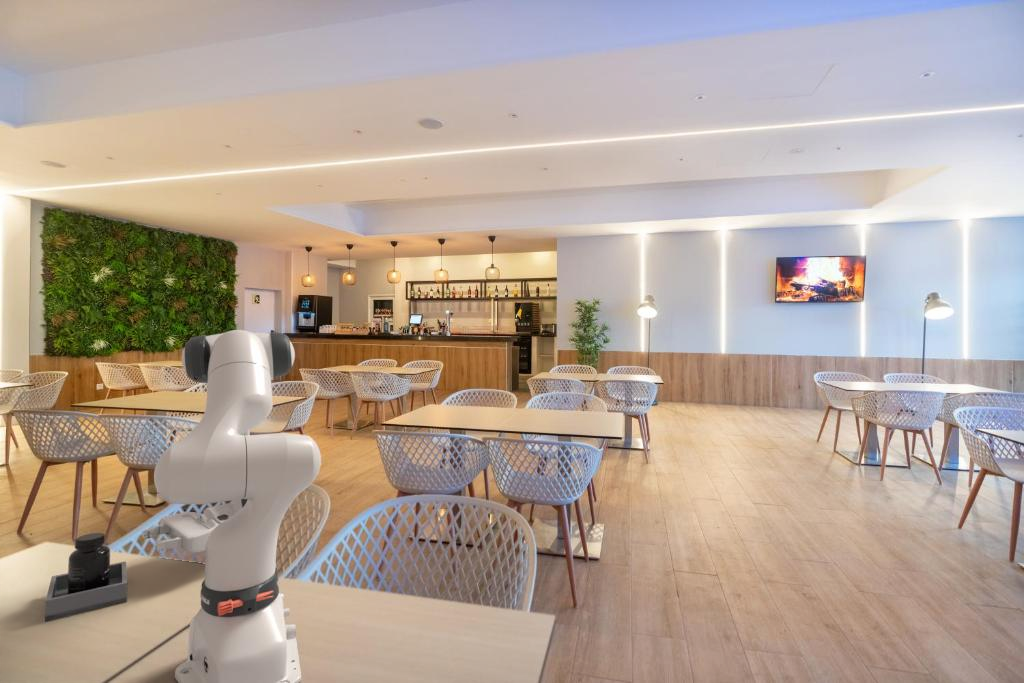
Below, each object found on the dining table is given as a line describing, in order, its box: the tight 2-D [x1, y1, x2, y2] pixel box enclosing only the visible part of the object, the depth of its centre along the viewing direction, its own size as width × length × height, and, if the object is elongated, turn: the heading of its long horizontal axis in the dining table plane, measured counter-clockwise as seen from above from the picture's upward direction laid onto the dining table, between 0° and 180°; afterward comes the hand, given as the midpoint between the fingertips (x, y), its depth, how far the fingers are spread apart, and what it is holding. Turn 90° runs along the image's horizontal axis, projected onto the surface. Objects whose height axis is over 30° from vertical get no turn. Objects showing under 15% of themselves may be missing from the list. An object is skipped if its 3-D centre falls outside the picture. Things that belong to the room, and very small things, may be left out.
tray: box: [44, 560, 128, 623], centre depth 106 cm, size 13×13×4 cm
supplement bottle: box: [67, 532, 111, 594], centre depth 106 cm, size 7×7×12 cm
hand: (149, 540), depth 114 cm, fingers open, 8 cm apart
